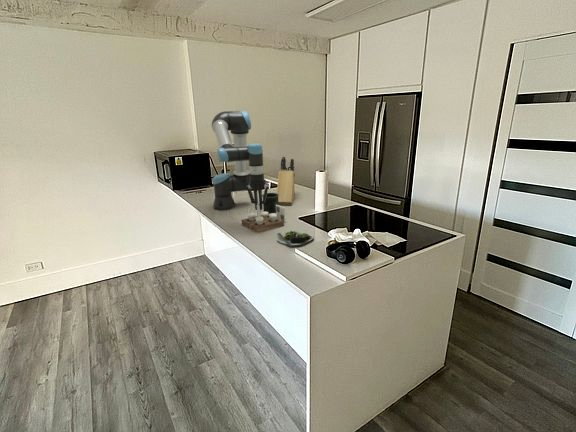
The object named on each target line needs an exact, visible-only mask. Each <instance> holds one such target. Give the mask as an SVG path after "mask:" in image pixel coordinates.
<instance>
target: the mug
mask: <svg viewBox="0 0 576 432" xmlns="http://www.w3.org/2000/svg"><path fill="white" fill-rule="evenodd" d="M263 196H264V193H262V198H263ZM278 196H279V194H277V192H267V196H266V202H265V203H264V204H262V208H263V209H262V210H263V212H265V211H266V212H268V214H271V213H276V205H279V206H280V204H279V203H278Z"/></svg>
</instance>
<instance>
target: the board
mask: <svg viewBox="0 0 576 432" xmlns="http://www.w3.org/2000/svg"><path fill="white" fill-rule="evenodd" d="M256 217H259V216H257V215H255V217H254V221H253V222H249V218H248V217H247V218H243V219H241V225H242V226H243V227H245V228H247V229H249V230H251V231H252V232H254V233H256V234H259V233H263V232H266V231H270V230H275V229H277V228H280V227H281V228H282V227H284V226H285V222H284V221H283V220H281V219H278V218H276V222H271V219H270V218H269V214H268V216H267V218H265V219H263V220H264V221H262V224H263V225H261V226H257V222H256ZM261 217H262V216H261Z"/></svg>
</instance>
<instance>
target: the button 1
mask: <svg viewBox="0 0 576 432" xmlns="http://www.w3.org/2000/svg"><path fill="white" fill-rule="evenodd" d="M255 216H256V213H255V212H249V213H247V218H249V222H253V221H254V217H255Z"/></svg>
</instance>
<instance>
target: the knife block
mask: <svg viewBox="0 0 576 432" xmlns="http://www.w3.org/2000/svg"><path fill="white" fill-rule="evenodd" d="M286 162H287V160H286V156H282V158H281V160H280V170H279V171H278V177H277V186H276V187H277V188H276V193H277V194H279V196H278V203H279V205H289V206H291V205H292V204H293V202H294V198H295V179H296V178H295V176H296V174H295V166H294V165H295V160H294V158H291V159H290V161H289V162H290V163H289V166H288V167H287V166H286Z"/></svg>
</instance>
